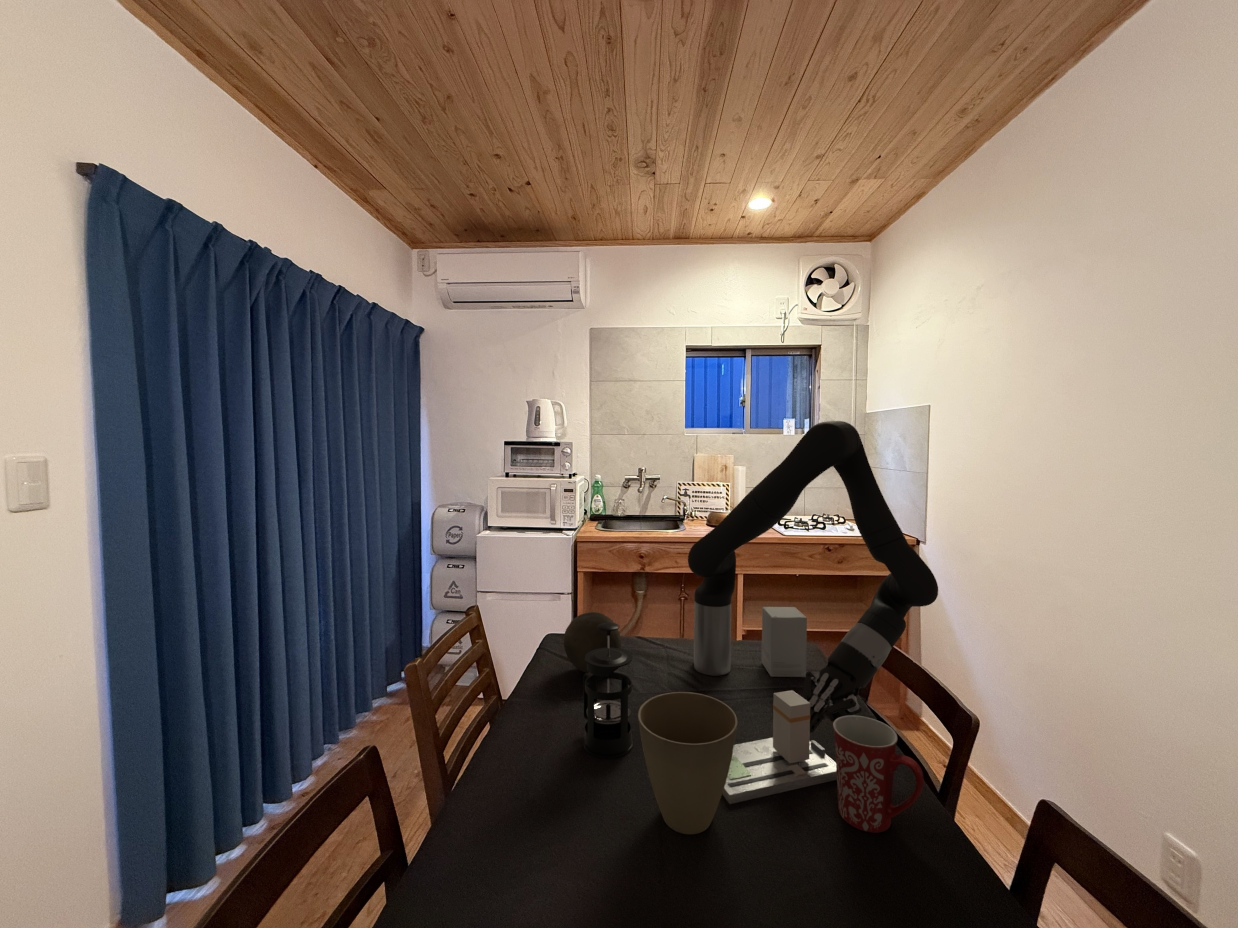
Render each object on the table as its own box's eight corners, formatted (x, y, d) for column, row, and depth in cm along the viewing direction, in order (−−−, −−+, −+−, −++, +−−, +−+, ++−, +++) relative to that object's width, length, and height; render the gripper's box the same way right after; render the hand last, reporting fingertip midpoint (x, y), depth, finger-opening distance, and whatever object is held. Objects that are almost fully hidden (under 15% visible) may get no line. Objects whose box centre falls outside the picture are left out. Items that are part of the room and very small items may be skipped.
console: (696, 759, 93) (696, 746, 93) (799, 739, 100) (799, 727, 99) (729, 804, 82) (729, 788, 81) (843, 777, 88) (844, 763, 88)
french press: (645, 746, 97) (646, 625, 97) (608, 767, 91) (609, 638, 90) (604, 721, 106) (604, 611, 105) (567, 739, 99) (568, 621, 99)
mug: (819, 812, 80) (821, 726, 79) (849, 788, 85) (850, 708, 85) (906, 864, 70) (908, 766, 69) (933, 833, 76) (935, 742, 75)
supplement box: (807, 677, 126) (808, 617, 126) (770, 677, 127) (771, 617, 126) (795, 662, 136) (795, 606, 135) (760, 662, 136) (761, 605, 135)
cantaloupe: (571, 660, 136) (571, 604, 136) (624, 663, 134) (624, 606, 134) (557, 684, 122) (557, 622, 122) (616, 688, 120) (616, 625, 120)
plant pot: (637, 784, 86) (637, 690, 86) (726, 786, 86) (727, 692, 85) (637, 854, 71) (638, 741, 71) (745, 857, 71) (747, 744, 70)
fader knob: (772, 746, 94) (773, 692, 93) (791, 743, 95) (792, 689, 95) (789, 763, 89) (790, 706, 88) (809, 759, 90) (810, 702, 90)
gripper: (823, 629, 101) (769, 699, 98) (876, 655, 89) (815, 737, 85) (845, 653, 103) (792, 722, 100) (899, 682, 90) (840, 762, 87)
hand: (803, 729), depth 93 cm, fingers closed
